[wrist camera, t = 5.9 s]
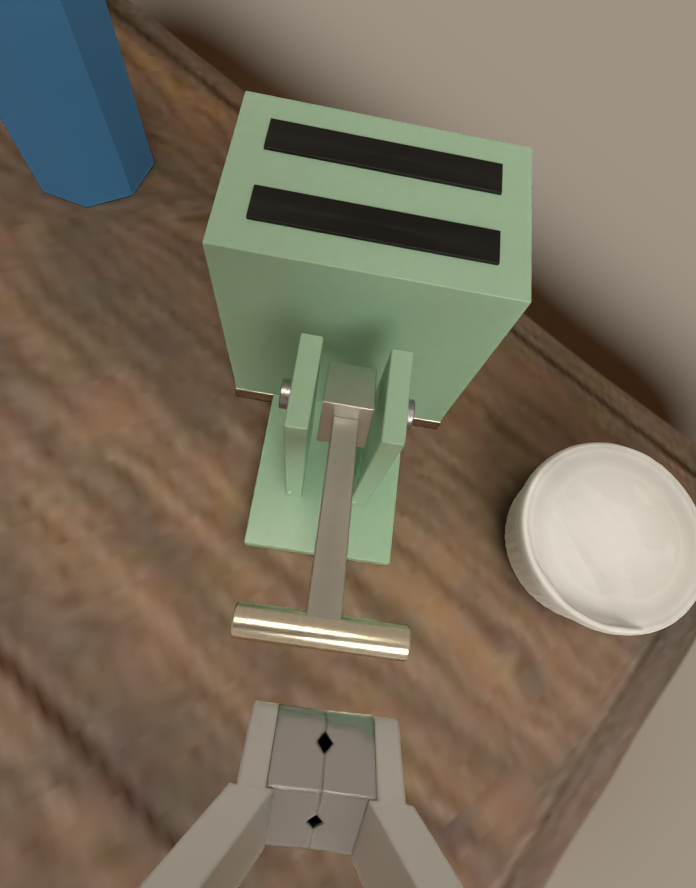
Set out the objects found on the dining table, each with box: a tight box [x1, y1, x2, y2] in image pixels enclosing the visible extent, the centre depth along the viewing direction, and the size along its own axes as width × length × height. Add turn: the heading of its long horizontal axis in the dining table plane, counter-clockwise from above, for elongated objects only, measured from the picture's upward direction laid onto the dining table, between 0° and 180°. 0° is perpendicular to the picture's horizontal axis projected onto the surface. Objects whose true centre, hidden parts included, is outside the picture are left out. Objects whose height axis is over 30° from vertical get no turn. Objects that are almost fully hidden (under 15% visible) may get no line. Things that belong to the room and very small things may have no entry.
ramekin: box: [505, 442, 696, 635], centre depth 31 cm, size 11×11×5 cm
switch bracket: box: [244, 333, 415, 566], centre depth 27 cm, size 11×9×13 cm
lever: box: [230, 361, 411, 661], centre depth 19 cm, size 12×5×2 cm, turn 173°
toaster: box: [202, 91, 532, 429], centre depth 29 cm, size 9×14×15 cm, turn 83°
